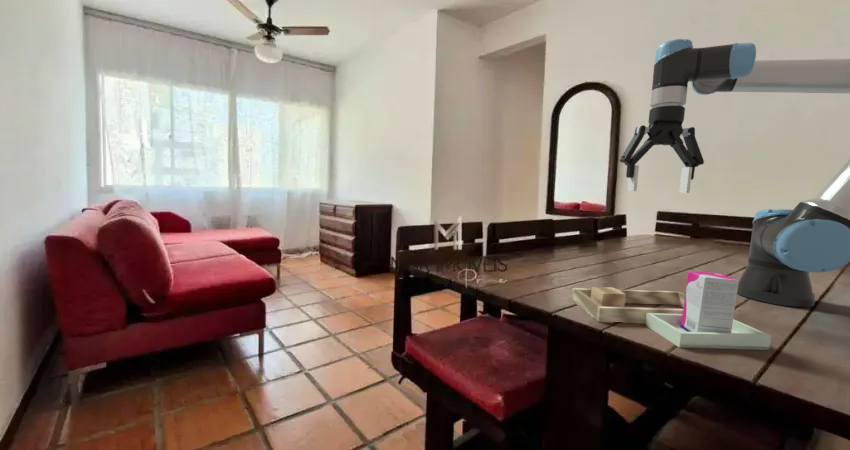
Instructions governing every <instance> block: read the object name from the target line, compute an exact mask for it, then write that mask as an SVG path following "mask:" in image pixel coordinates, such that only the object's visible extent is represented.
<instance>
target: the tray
mask: <svg viewBox="0 0 850 450" xmlns="http://www.w3.org/2000/svg"><path fill="white" fill-rule="evenodd" d="M681 321H682V314H666V313H646V322H645V323H644V324H645V325H644V326H645V327H647V328H649V329H650V330H651V331H652V332H655V333H656V334H658V335H660V336H661V337H662V338H664V339H665V340H666V341H668V342H670V343H672V344H673V345H675V346H676V347H678V348H685V349H687V348H688V349H719V350H720V349H723V350H753V351H754V350H756V351H757V350H759V351H770V349H771V348H770V347H771V343H772V342H771V341H772V335H770V334H769V333H766V332H763V331H762V330H760V329H757V328H754V327H753V326H750V325H748V324H745V323H743V322H741V321H738V320H736V319H734V318H733V323H732V330H731V333H714V332H687V331H686V330H684V329H683V328H682V327H681Z"/></svg>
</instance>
